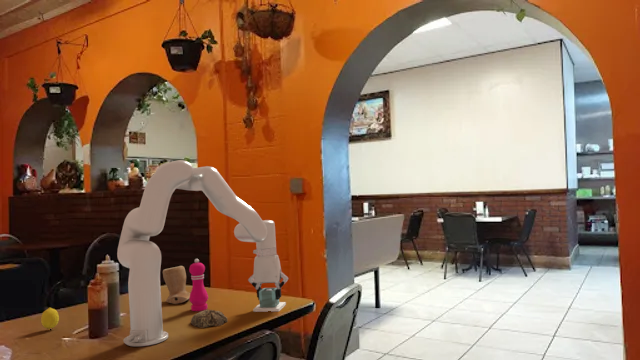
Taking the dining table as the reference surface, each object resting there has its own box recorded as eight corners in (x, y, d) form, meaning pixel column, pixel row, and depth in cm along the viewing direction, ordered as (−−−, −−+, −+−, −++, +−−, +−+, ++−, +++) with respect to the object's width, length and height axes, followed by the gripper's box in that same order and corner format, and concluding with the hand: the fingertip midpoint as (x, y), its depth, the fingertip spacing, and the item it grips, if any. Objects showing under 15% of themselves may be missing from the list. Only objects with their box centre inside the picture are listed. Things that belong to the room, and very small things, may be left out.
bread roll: (188, 322, 169) (187, 308, 169) (222, 316, 174) (221, 303, 175) (196, 331, 157) (195, 316, 157) (232, 324, 163) (231, 309, 163)
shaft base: (279, 311, 175) (277, 292, 176) (253, 311, 177) (252, 293, 177) (285, 304, 185) (284, 286, 185) (261, 305, 187) (260, 287, 187)
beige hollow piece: (168, 298, 211) (166, 264, 212) (195, 296, 212) (193, 262, 213) (158, 306, 196) (156, 270, 197) (187, 304, 197) (185, 268, 197)
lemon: (39, 333, 166) (38, 310, 166) (44, 329, 171) (43, 306, 171) (57, 331, 167) (56, 308, 167) (61, 326, 172) (60, 305, 173)
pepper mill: (211, 306, 190) (208, 256, 190) (205, 311, 183) (202, 259, 183) (193, 307, 190) (191, 257, 191) (187, 312, 183) (184, 260, 184)
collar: (275, 307, 178) (274, 291, 178) (259, 307, 179) (258, 291, 179) (279, 303, 184) (278, 287, 184) (264, 303, 185) (263, 288, 185)
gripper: (241, 254, 180) (244, 301, 179) (285, 253, 176) (288, 301, 176) (248, 252, 187) (251, 297, 187) (290, 250, 184) (293, 296, 183)
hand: (269, 298), depth 181 cm, fingers open, 6 cm apart
